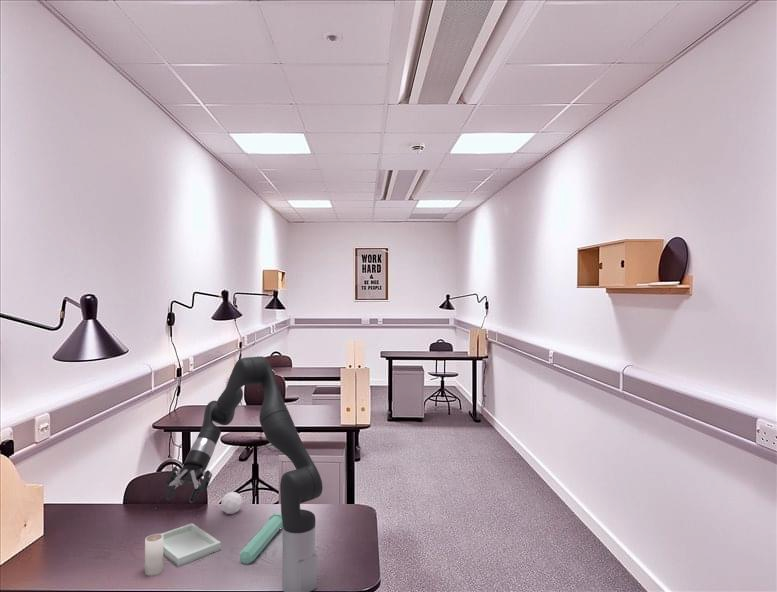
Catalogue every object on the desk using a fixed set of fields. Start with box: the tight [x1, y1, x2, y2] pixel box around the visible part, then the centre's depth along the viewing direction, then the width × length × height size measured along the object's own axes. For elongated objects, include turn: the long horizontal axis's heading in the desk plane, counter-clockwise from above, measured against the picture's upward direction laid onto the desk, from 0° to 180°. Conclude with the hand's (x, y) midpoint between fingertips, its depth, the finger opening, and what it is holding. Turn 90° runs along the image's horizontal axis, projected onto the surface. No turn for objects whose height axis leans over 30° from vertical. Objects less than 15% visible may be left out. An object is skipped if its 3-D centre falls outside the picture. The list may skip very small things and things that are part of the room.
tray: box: [161, 522, 222, 568], centre depth 162 cm, size 20×14×2 cm
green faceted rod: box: [239, 513, 283, 565], centre depth 164 cm, size 6×6×25 cm
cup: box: [144, 533, 164, 577], centre depth 148 cm, size 5×5×10 cm
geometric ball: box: [220, 491, 243, 515], centre depth 189 cm, size 8×8×8 cm
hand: (179, 500), depth 160 cm, fingers open, 8 cm apart
